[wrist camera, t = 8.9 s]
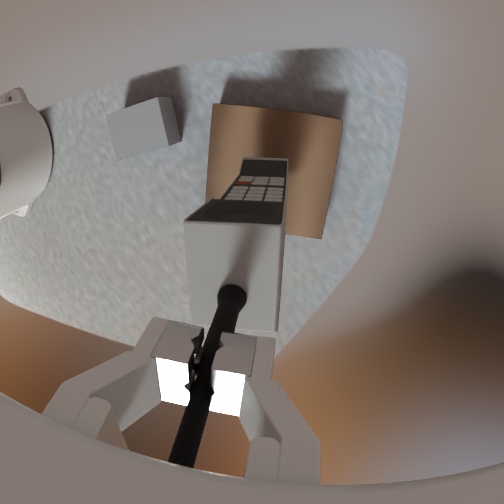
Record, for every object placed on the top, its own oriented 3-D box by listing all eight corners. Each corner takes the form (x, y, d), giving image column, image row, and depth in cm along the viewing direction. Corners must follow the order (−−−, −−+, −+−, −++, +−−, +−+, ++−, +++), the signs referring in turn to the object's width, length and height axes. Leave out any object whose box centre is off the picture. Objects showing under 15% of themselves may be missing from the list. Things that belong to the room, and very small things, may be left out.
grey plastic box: (134, 153, 34) (117, 160, 30) (124, 112, 32) (106, 115, 28) (182, 140, 32) (168, 145, 29) (172, 97, 30) (157, 97, 27)
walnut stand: (211, 212, 36) (204, 222, 33) (219, 103, 30) (212, 103, 27) (319, 228, 35) (321, 239, 32) (338, 118, 29) (343, 120, 27)
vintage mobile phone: (288, 157, 26) (262, 442, 4) (286, 213, 28) (255, 528, 6) (244, 156, 27) (41, 391, 4) (244, 211, 29) (121, 500, 6)
